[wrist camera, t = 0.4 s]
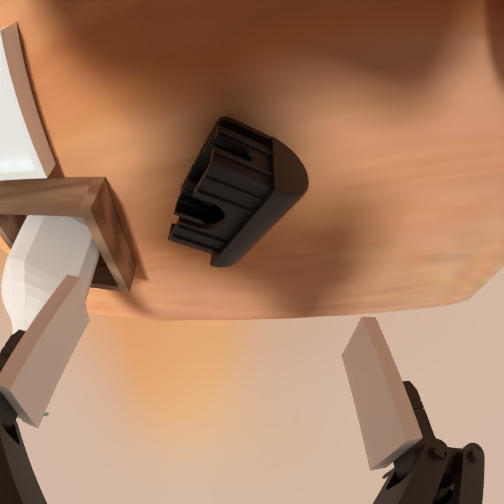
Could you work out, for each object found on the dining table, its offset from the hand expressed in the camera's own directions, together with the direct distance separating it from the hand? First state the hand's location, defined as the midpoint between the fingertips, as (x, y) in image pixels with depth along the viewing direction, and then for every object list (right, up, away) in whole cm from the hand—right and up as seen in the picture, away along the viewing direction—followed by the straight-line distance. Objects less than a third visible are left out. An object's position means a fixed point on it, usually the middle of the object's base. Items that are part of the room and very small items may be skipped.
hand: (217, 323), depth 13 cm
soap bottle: (-21, +7, +18) cm, 28 cm away
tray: (-24, +16, +4) cm, 29 cm away
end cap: (0, +10, +12) cm, 16 cm away
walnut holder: (-21, +6, +18) cm, 28 cm away
